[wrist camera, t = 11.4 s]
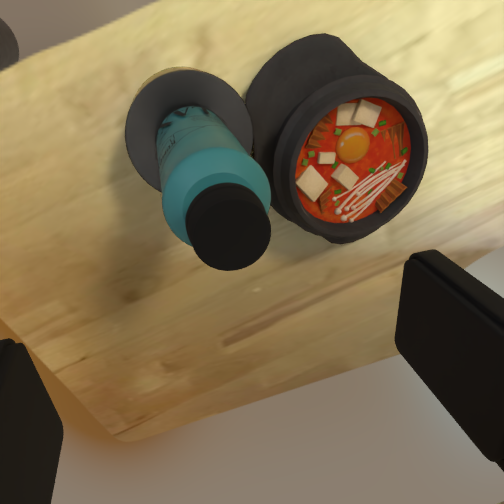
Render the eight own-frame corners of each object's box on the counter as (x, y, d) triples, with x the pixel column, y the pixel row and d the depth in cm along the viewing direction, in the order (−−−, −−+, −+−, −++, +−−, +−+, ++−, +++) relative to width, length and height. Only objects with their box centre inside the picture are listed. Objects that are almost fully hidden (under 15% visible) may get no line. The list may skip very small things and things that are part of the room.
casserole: (428, 181, 52) (474, 205, 45) (312, 264, 54) (338, 299, 47) (349, -9, 39) (394, -19, 32) (199, 107, 41) (211, 122, 34)
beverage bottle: (228, 103, 35) (310, 168, 18) (224, 176, 38) (290, 292, 21) (152, 98, 33) (161, 165, 16) (154, 175, 36) (163, 300, 19)
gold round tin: (141, 185, 43) (141, 209, 38) (114, 71, 38) (109, 78, 32) (243, 168, 45) (258, 189, 39) (231, 58, 40) (247, 62, 34)
